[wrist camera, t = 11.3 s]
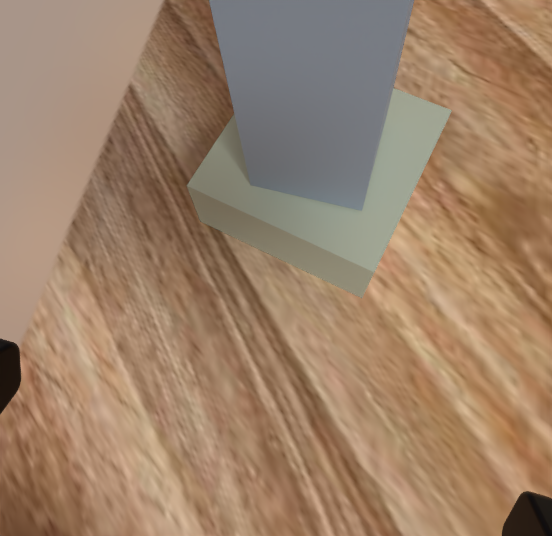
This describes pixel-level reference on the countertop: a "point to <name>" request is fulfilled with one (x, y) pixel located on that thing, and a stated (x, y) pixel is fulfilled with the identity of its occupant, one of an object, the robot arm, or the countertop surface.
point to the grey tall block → (311, 89)
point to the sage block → (315, 214)
